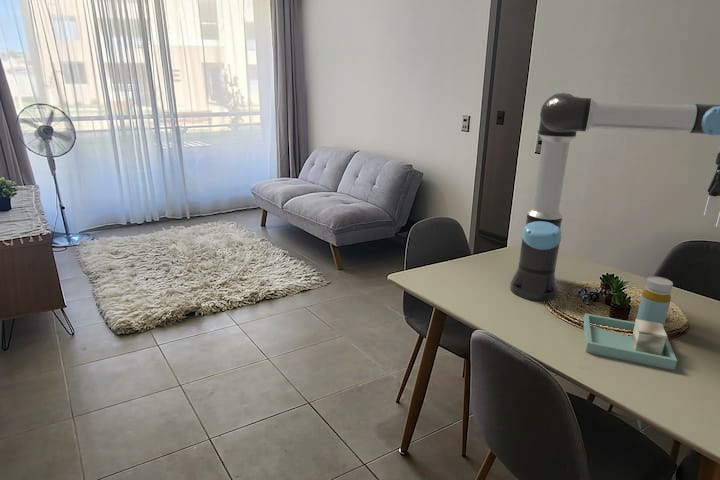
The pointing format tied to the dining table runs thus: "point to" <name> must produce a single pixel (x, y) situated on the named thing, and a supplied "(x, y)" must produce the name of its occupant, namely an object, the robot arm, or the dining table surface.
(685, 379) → the dining table surface
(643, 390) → the dining table surface
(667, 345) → the tote
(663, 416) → the dining table surface
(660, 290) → the bottle
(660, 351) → the beige rectangular box
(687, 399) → the dining table surface
